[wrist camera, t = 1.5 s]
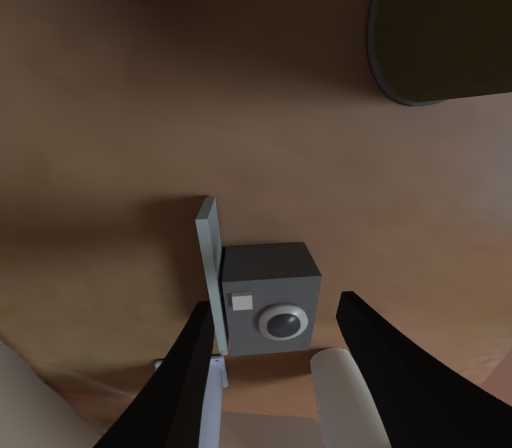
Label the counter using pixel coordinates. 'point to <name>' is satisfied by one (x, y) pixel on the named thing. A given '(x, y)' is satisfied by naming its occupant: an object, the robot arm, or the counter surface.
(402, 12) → the canister
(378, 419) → the foam cup
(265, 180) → the counter surface
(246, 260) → the camera body
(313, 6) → the counter surface
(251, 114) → the counter surface
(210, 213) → the side door
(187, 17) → the counter surface
